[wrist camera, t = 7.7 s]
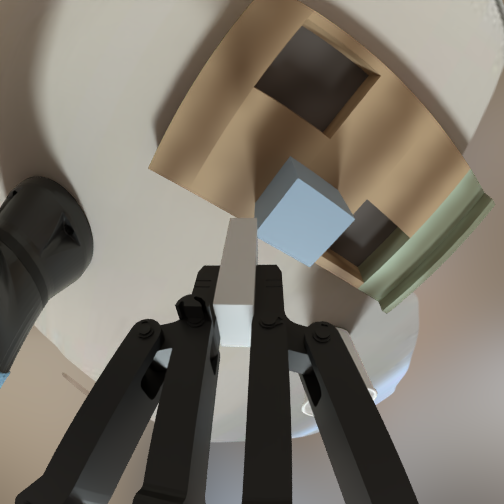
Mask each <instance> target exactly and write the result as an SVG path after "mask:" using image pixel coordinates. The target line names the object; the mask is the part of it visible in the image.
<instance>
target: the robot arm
mask: <svg viewBox="0 0 504 504" xmlns="http://www.w3.org/2000/svg"><path fill="white" fill-rule="evenodd" d="M92 255H93V239H92V234H91V230H90V227H89V224H88V222H87V219H86V217H85V215H84V213H83V212H82V210H81V208H80V207H79V205H78V204H77V202H76V201H75V200H74V198H73V197H72V196H71V195H70V194H69V193H68V192H67V191H66V190H65V189H64V188H63V187H62V186H60V185H59V184H57V183H56V182H54V181H52V180H50V179H47V178H44V177H31V178H28V179H26V180H25V181H23V182H22V183H20V184H19V185H18V186H16V187H15V188H14V189H13V190H12V191H11V192H10V193H9V195H8V196H7V198H6V200H5V201H4V203H3V204H2V206H1V208H0V388H1V386H2V385H3V383H4V381H5V380H6V378H7V377H8V376H9V374H10V368H11V366H12V364H13V362H14V360H15V358H16V356H17V354H18V352H19V350H20V348H21V346H22V344H23V342H24V341H25V339H26V337H27V335H28V333H29V332H30V330H31V328H32V326H33V325H34V323H35V321H36V320H37V318H38V316H39V315H40V313H41V311H42V310H43V308H44V306H45V305H46V303H47V302H48V300H49V299H50V298H52V297H53V296H55V295H56V294H58V293H59V292H60V291H62V290H63V289H65V288H66V287H68V286H69V285H71V284H72V283H74V282H75V281H76V280H78V279H79V278H80V277H81V275H82V274H83V273H84V271H85V270H86V268H87V267H88V265H89V264H90V262H91V259H92ZM175 306H176V310H177V313H178V316H179V319H180V320H178V321H176V322H173V323H169V324H164V325H160V324H159V323H158V322H157V321H155V320H153V319H145V320H141V321H139V322H137V323H136V324H135V325H134V326H133V327H132V329H131V330H130V332H129V333H128V335H127V336H126V337H125V339H124V340H123V342H122V343H121V345H120V346H119V348H118V349H117V351H116V352H115V354H114V355H113V357H112V358H111V360H110V361H109V363H108V364H107V366H106V368H105V369H104V371H103V372H102V374H101V375H100V377H99V378H98V380H97V382H96V383H95V385H94V387H93V388H92V390H91V391H90V393H89V394H88V396H87V398H86V400H85V401H84V403H83V404H82V406H81V408H80V409H79V411H78V413H77V414H76V416H75V418H74V419H73V421H72V423H71V424H70V426H69V428H68V430H67V431H66V433H65V435H64V437H63V439H62V440H61V442H60V444H59V446H58V448H57V449H56V452H55V453H54V455H53V457H52V459H51V461H50V463H49V464H48V466H47V468H46V471H45V472H44V474H43V475H42V476H41V477H40V478H39V479H37V480H36V481H35V482H34V483H32V484H31V485H30V486H29V487H27V488H26V489H25V490H23V491H22V492H21V493H20V494H18V495H17V497H16V499H15V504H107V503H108V502H109V500H110V498H111V496H112V495H113V493H114V490H115V488H116V486H117V484H118V482H119V480H120V478H121V476H122V474H123V472H124V470H125V468H126V466H127V464H128V462H129V460H130V458H131V456H132V454H133V452H134V450H135V448H136V446H137V444H138V442H139V440H140V438H141V436H142V434H143V432H144V430H145V428H146V426H147V424H148V422H149V420H150V418H151V416H152V414H153V412H154V410H155V409H156V407H157V405H158V403H159V405H158V410H157V414H156V419H155V424H154V429H153V433H152V439H151V443H150V449H149V454H148V459H147V465H146V471H145V477H144V482H143V486H142V488H141V489H140V490H139V491H138V492H137V493H136V495H135V497H134V499H133V503H132V504H206V503H205V490H206V479H207V469H208V459H209V449H210V440H211V431H212V421H213V412H214V404H215V395H216V387H217V378H218V370H219V362H220V352H219V345H220V343H221V346H231V347H250V365H249V384H248V403H247V422H246V440H245V460H244V477H243V495H242V504H292V443H291V442H292V441H291V407H290V382H289V371H293V372H297V373H299V376H300V379H301V382H302V384H303V387H304V390H305V393H306V395H307V398H308V401H309V404H310V406H311V409H312V412H313V415H314V417H315V420H316V423H317V426H318V429H319V431H320V434H321V437H322V440H323V442H324V445H325V448H326V451H327V453H328V456H329V459H330V461H331V465H332V467H333V470H334V473H335V476H336V478H337V481H338V484H339V486H340V489H341V492H342V495H343V498H344V501H345V503H346V504H418V501H417V499H416V496H415V493H414V491H413V489H412V486H411V484H410V481H409V479H408V476H407V474H406V472H405V469H404V467H403V465H402V463H401V460H400V458H399V455H398V453H397V451H396V449H395V447H394V444H393V442H392V440H391V438H390V435H389V433H388V431H387V429H386V427H385V425H384V422H383V420H382V418H381V416H380V414H379V412H378V410H377V408H376V405H375V403H374V401H373V399H372V397H371V395H370V393H369V391H368V389H367V387H366V385H365V383H364V381H363V379H362V377H361V374H360V372H359V370H358V368H357V366H356V364H355V363H354V361H353V359H352V357H351V355H350V353H349V351H348V349H347V347H346V345H345V343H344V341H343V339H342V337H341V335H340V333H339V331H338V330H337V329H336V327H335V326H333V325H332V324H330V323H327V322H323V321H322V322H315V323H312V324H310V325H309V326H308V327H306V326H302V325H298V324H296V323H294V322H292V321H290V320H289V319H288V318H287V316H286V315H285V311H284V299H283V285H282V272H281V270H280V269H279V267H278V266H277V265H258V237H257V218H230V221H229V226H228V231H227V236H226V241H225V245H224V250H223V255H222V260H221V265H220V266H203V267H202V269H201V270H200V271H199V272H198V274H197V278H196V281H195V285H194V288H193V292H192V294H190V295H186V296H184V297H182V298H181V299H180V300H178V302H177V303H176V305H175Z"/></svg>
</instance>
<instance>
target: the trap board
mask: <svg viewBox="0 0 504 504" xmlns="http://www.w3.org/2000/svg"><path fill="white" fill-rule="evenodd" d="M290 156H291V157H292V158H294V159H295V160H297V161H298V162H300V163H301V164H303V165H304V166H305V167H307V168H308V169H310V170H311V171H313V172H314V173H315V174H317V175H318V176H320V177H321V178H322V179H324V180H325V181H326V182H328V183H329V184H331V185H332V186H333V187H335V188H336V189H337V190H338V191H339V192H340V194H341V196H342V197H343V199H344V201H345V202H346V204H347V206H348V207H349V209H350V211H351V213H352V214H353V216H354V218H355V220H354V221H353V222H352V223H351V224H350V226H349V227H348V228H347V229H346V230H345V231H344V232H343V233H342V234H341V235H340V236H339V237H338V239H337V240H336V241H335V242H334V243H333V244H332V245H331V246H330V247H329V248H328V249H327V250H326V251H325V252H324V253H323V254H322V255H321V256H320V257H319V259H318V260H317V261H316V262H315V263H316V264H317V265H319V266H321V267H322V268H324V269H326V270H328V271H329V272H331V273H332V274H334V275H336V276H337V277H339V278H341V279H342V280H344V281H346V282H347V283H349V284H351V285H352V286H354V287H356V288H357V289H359V290H361V291H362V292H364V293H365V294H367V295H369V296H370V297H372V298H374V299H375V300H377V301H378V302H379V304H380V306H381V309H382V311H383V312H385V313H389V312H390V311H391V310H392V309H394V308H395V307H396V306H397V305H398V304H399V303H401V302H402V301H403V300H404V299H405V298H406V297H408V296H409V295H410V294H411V293H412V292H413V291H414V290H415V289H416V288H417V287H419V286H420V285H421V284H422V283H423V282H424V281H425V280H426V279H427V278H428V277H430V276H431V275H432V274H433V273H434V272H435V271H436V270H437V269H438V268H439V267H440V266H441V265H442V264H443V263H444V262H445V261H446V260H447V259H448V258H449V257H450V256H451V255H452V254H453V253H454V252H455V251H456V249H457V248H458V247H459V246H460V245H461V244H462V243H463V242H464V241H465V240H466V239H467V237H469V235H470V234H471V233H472V232H473V231H474V230H475V228H476V227H477V226H478V225H479V224H480V223H481V221H482V220H483V219H484V218H485V217H486V215H487V214H488V213H489V212H490V211H491V209H492V208H493V207H494V205H495V204H494V201H493V199H492V198H490V197H489V196H488V195H487V194H485V193H484V191H483V189H482V188H481V186H480V184H479V182H478V181H477V179H476V177H475V175H474V174H473V172H472V170H471V169H470V167H469V166H468V164H467V163H466V161H465V159H464V158H463V156H462V155H461V153H460V152H459V150H458V149H457V147H456V146H455V145H454V143H453V142H452V140H451V139H450V138H449V136H448V135H447V134H446V132H445V131H444V130H443V128H442V127H441V126H440V124H439V123H438V122H437V121H436V119H435V118H434V117H433V116H432V114H431V113H430V112H429V111H428V110H427V108H426V107H425V106H424V105H423V104H422V103H421V101H420V100H419V99H418V98H417V97H416V96H415V95H414V94H413V93H412V92H411V90H410V89H409V88H408V87H407V86H406V85H405V84H404V83H403V82H402V81H401V80H400V79H399V78H398V77H397V76H396V75H395V74H394V73H393V72H392V71H391V70H390V69H389V68H388V67H387V66H386V65H384V64H383V63H382V62H381V61H380V60H379V59H378V58H377V57H376V56H374V55H373V54H372V53H371V52H370V51H369V50H367V49H366V48H365V47H364V46H363V45H361V44H360V43H359V42H358V41H356V40H355V39H354V38H353V37H351V36H350V35H349V34H347V33H346V32H345V31H343V30H342V29H341V28H339V27H338V26H337V25H335V24H334V23H332V22H331V21H329V20H328V19H327V18H325V17H324V16H322V15H321V14H319V13H317V12H316V11H314V10H313V9H311V8H310V7H308V6H306V5H305V4H303V3H301V2H299V1H298V0H253V1H252V3H251V4H250V5H249V6H248V7H247V9H246V10H245V11H244V12H243V13H242V15H241V16H240V17H239V18H238V20H237V21H236V22H235V24H234V25H233V26H232V27H231V29H230V30H229V31H228V33H227V34H226V35H225V37H224V38H223V40H222V41H221V42H220V44H219V45H218V47H217V48H216V49H215V51H214V52H213V54H212V55H211V57H210V58H209V60H208V61H207V63H206V64H205V66H204V67H203V69H202V70H201V72H200V73H199V75H198V77H197V78H196V80H195V81H194V83H193V85H192V86H191V88H190V90H189V91H188V93H187V95H186V96H185V98H184V100H183V101H182V103H181V105H180V107H179V108H178V110H177V112H176V114H175V116H174V117H173V119H172V121H171V123H170V125H169V127H168V129H167V131H166V133H165V135H164V136H163V138H162V140H161V142H160V144H159V146H158V148H157V151H156V153H155V155H154V157H153V159H152V161H151V163H150V165H149V168H148V169H150V170H152V171H154V172H156V173H157V174H159V175H161V176H163V177H165V178H167V179H168V180H170V181H172V182H174V183H176V184H178V185H179V186H181V187H183V188H185V189H187V190H189V191H190V192H192V193H194V194H196V195H198V196H199V197H201V198H203V199H205V200H207V201H208V202H210V203H212V204H214V205H215V206H217V207H219V208H221V209H223V210H224V211H226V212H228V213H230V214H231V215H233V216H235V217H237V218H254V213H255V203H256V201H257V200H258V199H259V197H260V196H261V195H262V193H263V192H264V190H265V189H266V188H267V186H268V185H269V184H270V182H271V181H272V180H273V178H274V177H275V176H276V174H277V173H278V172H279V170H280V169H281V168H282V166H283V165H284V164H285V162H286V161H287V160H288V158H289V157H290Z"/></svg>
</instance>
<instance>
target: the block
mask: <svg viewBox="0 0 504 504" xmlns="http://www.w3.org/2000/svg"><path fill="white" fill-rule="evenodd" d="M254 218H257V237H258V238H259V239H261V240H263V241H264V242H266V243H268V244H270V245H271V246H273V247H275V248H277V249H279V250H280V251H282V252H284V253H286V254H287V255H289V256H291V257H293V258H294V259H296V260H298V261H300V262H301V263H303V264H305V265H307V266H308V267H311V266H312V265H313V264H314V263H315V262H316V261H317V260H318V259H319V257H320V256H321V255H322V254H323V253H324V252H325V251H326V250H327V249H328V248H329V247H330V246H331V245H332V244H333V243H334V242H335V241H336V240H337V239H338V237H339V236H340V235H341V234H342V233H343V232H344V231H345V230H346V229H347V228H348V227H349V226H350V224H351V223H352V222H353V221H354V220H355V218H354V216H353V214H352V213H351V211H350V209H349V207H348V206H347V204H346V202H345V201H344V199H343V197H342V196H341V194H340V192H339V191H338V190H337V189H336V188H335V187H333V186H332V185H331V184H329V183H328V182H326V181H325V180H324V179H322V178H321V177H320V176H318V175H317V174H315V173H314V172H313V171H311V170H310V169H308V168H307V167H305V166H304V165H303V164H301V163H300V162H298V161H297V160H295V159H294V158H292V157H291V156H290V157H289V158H288V160H287V161H286V162H285V164H284V165H283V166H282V168H281V169H280V170H279V172H278V173H277V174H276V176H275V177H274V178H273V180H272V181H271V182H270V184H269V185H268V186H267V188H266V189H265V190H264V192H263V193H262V195H261V196H260V197H259V199H258V200H257V201H256V203H255V213H254Z"/></svg>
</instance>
